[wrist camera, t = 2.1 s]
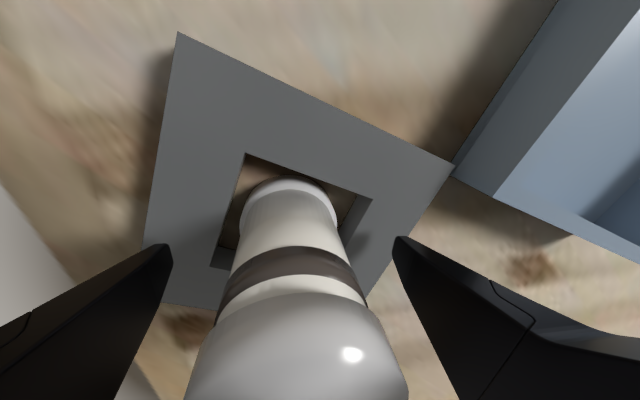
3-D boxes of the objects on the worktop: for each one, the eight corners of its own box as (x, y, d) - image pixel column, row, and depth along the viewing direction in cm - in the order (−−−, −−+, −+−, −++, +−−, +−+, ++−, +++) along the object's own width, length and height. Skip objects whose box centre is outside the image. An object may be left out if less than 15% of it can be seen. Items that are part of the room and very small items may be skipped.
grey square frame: (338, 308, 15) (343, 330, 14) (149, 274, 12) (133, 297, 10) (435, 156, 11) (455, 165, 10) (194, 40, 8) (177, 31, 7)
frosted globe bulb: (312, 259, 13) (348, 468, 6) (232, 239, 12) (155, 478, 5) (346, 192, 11) (452, 367, 4) (259, 160, 10) (206, 339, 3)
